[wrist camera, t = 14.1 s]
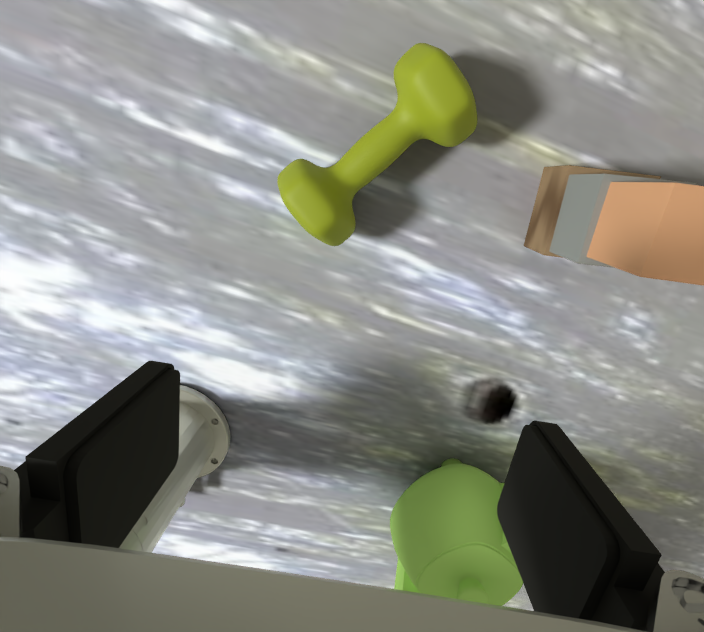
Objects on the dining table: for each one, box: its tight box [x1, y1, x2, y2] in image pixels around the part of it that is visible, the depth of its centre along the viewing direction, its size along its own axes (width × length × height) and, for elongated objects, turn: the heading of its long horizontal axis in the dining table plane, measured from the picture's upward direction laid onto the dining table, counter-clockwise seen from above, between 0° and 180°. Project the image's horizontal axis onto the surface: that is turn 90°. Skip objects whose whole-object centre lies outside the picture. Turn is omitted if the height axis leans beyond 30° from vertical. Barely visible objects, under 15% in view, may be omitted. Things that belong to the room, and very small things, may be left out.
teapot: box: [390, 458, 523, 606], centre depth 41 cm, size 20×13×13 cm
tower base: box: [524, 165, 661, 258], centre depth 34 cm, size 7×7×5 cm
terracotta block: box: [586, 182, 704, 285], centre depth 24 cm, size 5×5×6 cm
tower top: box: [549, 174, 697, 268], centre depth 29 cm, size 6×6×5 cm
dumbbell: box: [278, 43, 477, 246], centre depth 32 cm, size 16×8×7 cm, turn 129°
